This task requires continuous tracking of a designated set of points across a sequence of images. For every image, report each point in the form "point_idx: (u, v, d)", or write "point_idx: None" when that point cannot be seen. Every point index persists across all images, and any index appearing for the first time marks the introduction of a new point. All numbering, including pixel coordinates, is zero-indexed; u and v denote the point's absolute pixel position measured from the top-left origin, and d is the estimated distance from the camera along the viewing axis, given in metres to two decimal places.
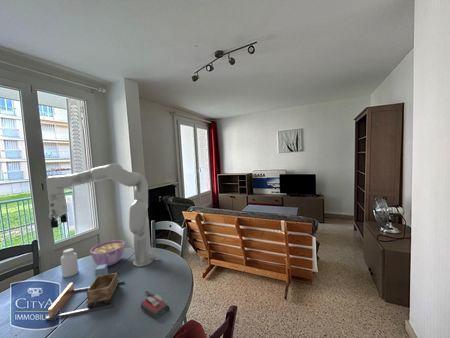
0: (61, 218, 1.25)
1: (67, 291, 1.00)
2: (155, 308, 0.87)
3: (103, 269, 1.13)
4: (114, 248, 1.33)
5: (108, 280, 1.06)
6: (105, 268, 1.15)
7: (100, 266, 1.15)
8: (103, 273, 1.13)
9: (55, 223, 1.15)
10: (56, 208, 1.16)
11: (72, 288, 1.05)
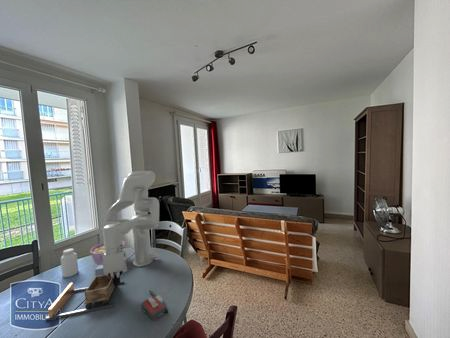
0: None
1: (67, 291, 1.00)
2: (153, 310, 0.86)
3: None
4: None
5: (106, 280, 1.06)
6: None
7: (100, 266, 1.15)
8: (103, 273, 1.13)
9: None
10: None
11: (72, 288, 1.05)
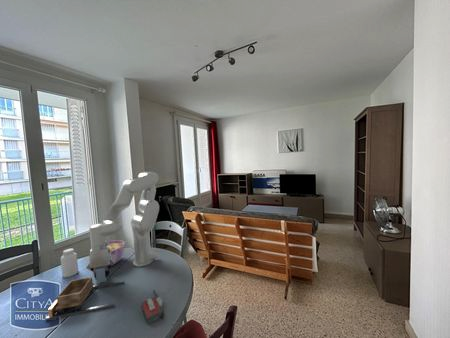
0: None
1: None
2: (149, 312, 0.85)
3: (103, 269, 1.13)
4: (114, 248, 1.33)
5: (82, 285, 1.04)
6: None
7: None
8: (103, 273, 1.13)
9: None
10: (110, 253, 1.17)
11: None
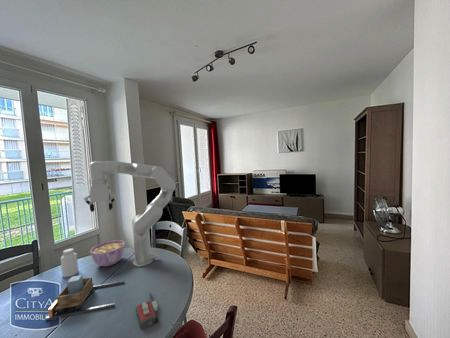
0: (92, 207, 1.19)
1: None
2: (143, 317, 0.83)
3: (77, 281, 0.96)
4: (114, 248, 1.33)
5: None
6: (80, 280, 0.97)
7: (74, 278, 0.98)
8: (77, 286, 0.96)
9: None
10: None
11: None
